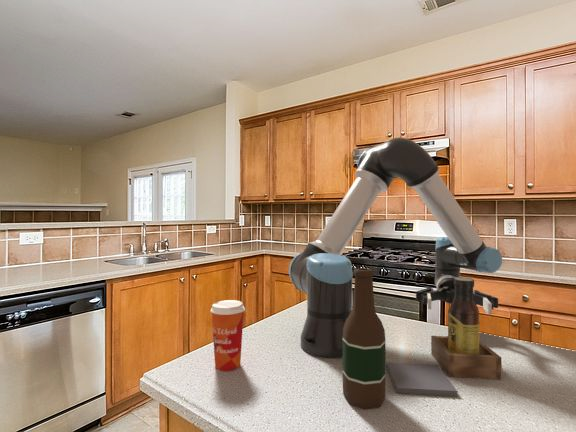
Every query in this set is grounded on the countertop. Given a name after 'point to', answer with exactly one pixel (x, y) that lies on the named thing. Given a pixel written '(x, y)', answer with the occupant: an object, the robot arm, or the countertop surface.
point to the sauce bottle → (463, 319)
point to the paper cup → (227, 333)
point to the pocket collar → (466, 360)
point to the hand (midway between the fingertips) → (458, 306)
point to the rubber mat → (420, 379)
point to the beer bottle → (364, 347)
